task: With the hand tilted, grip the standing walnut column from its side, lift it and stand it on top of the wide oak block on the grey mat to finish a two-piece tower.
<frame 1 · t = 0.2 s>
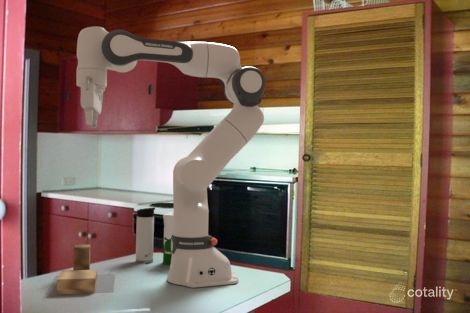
hand: (91, 126, 141), 47 cm above the counter, tool pointing down, fingers open, 8 cm apart
grey mat: (83, 285, 138), on the counter
milk carton: (175, 263, 170), on the counter
walnut column: (81, 278, 144), point 1 cm above the counter, touching grey mat
travel mug: (144, 262, 171), on the counter
oak base block: (77, 288, 133), point 1 cm above the counter, touching grey mat
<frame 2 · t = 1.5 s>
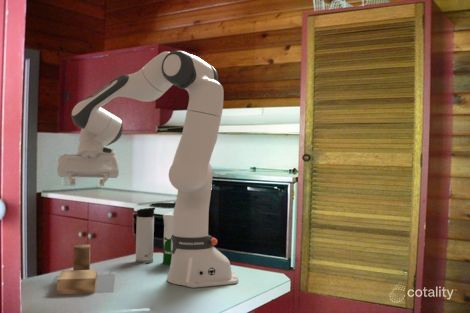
hand: (87, 184, 156), 29 cm above the counter, tool tilted 45°, fingers open, 8 cm apart
nothing on the counter moved.
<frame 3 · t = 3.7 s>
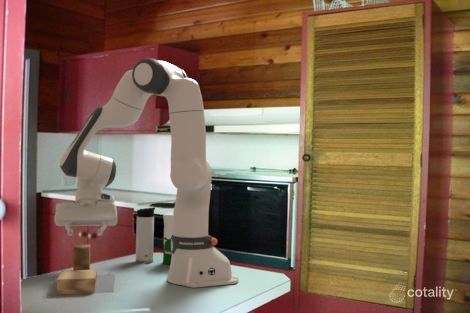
hand: (85, 234, 152), 13 cm above the counter, tool tilted 45°, fingers open, 8 cm apart
nothing on the counter moved.
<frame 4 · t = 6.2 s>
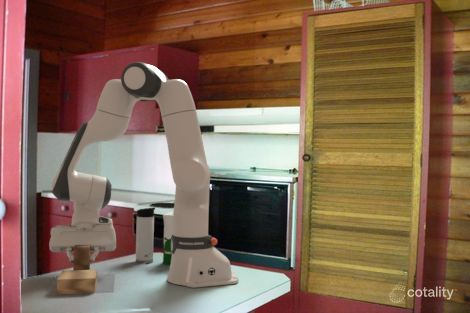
hand: (81, 261, 143), 6 cm above the counter, tool tilted 45°, fingers closed on walnut column, 4 cm apart
walnut column: (81, 278, 144), point 1 cm above the counter, touching grey mat, gripper
everything else where it was.
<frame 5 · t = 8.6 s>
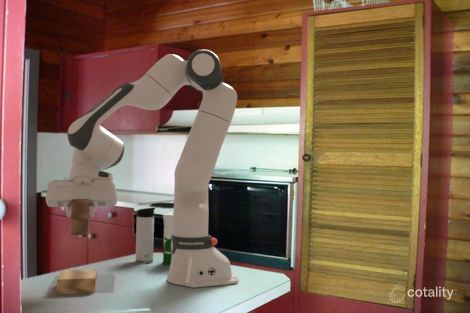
hand: (80, 216, 135), 21 cm above the counter, tool tilted 45°, fingers closed on walnut column, 4 cm apart
walnut column: (80, 233, 135), point 16 cm above the counter, touching gripper
everything else where it was.
when the fingers open (11 cm above the counter, at t = 11.1 s): walnut column drops 1 cm, resting on oak base block.
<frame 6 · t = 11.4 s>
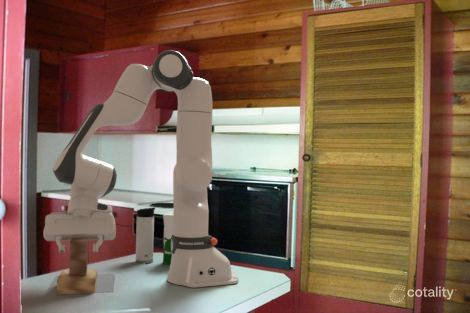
hand: (78, 251, 132), 11 cm above the counter, tool tilted 45°, fingers open, 8 cm apart
walnut column: (78, 274, 133), point 5 cm above the counter, touching oak base block
oak base block: (77, 288, 133), point 1 cm above the counter, touching grey mat, walnut column
everything else where it was.
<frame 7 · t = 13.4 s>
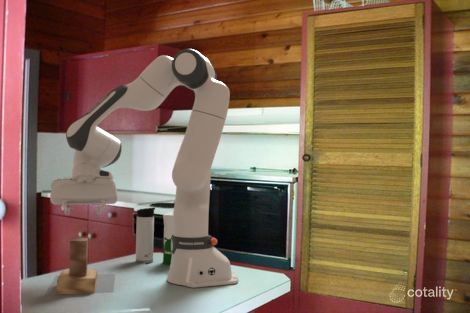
hand: (83, 213, 143), 21 cm above the counter, tool tilted 45°, fingers open, 8 cm apart
nothing on the counter moved.
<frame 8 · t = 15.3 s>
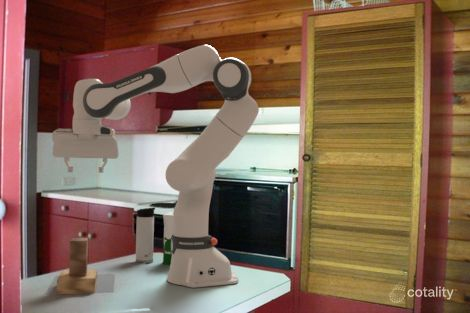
hand: (85, 172, 150), 33 cm above the counter, tool pointing down, fingers open, 8 cm apart
nothing on the counter moved.
at the end: walnut column inside the target area on the oak base block (0.1 cm from its centre), point 4.0 cm above the oak base block's base; walnut column tilted 0°; the gripper is holding nothing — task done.
